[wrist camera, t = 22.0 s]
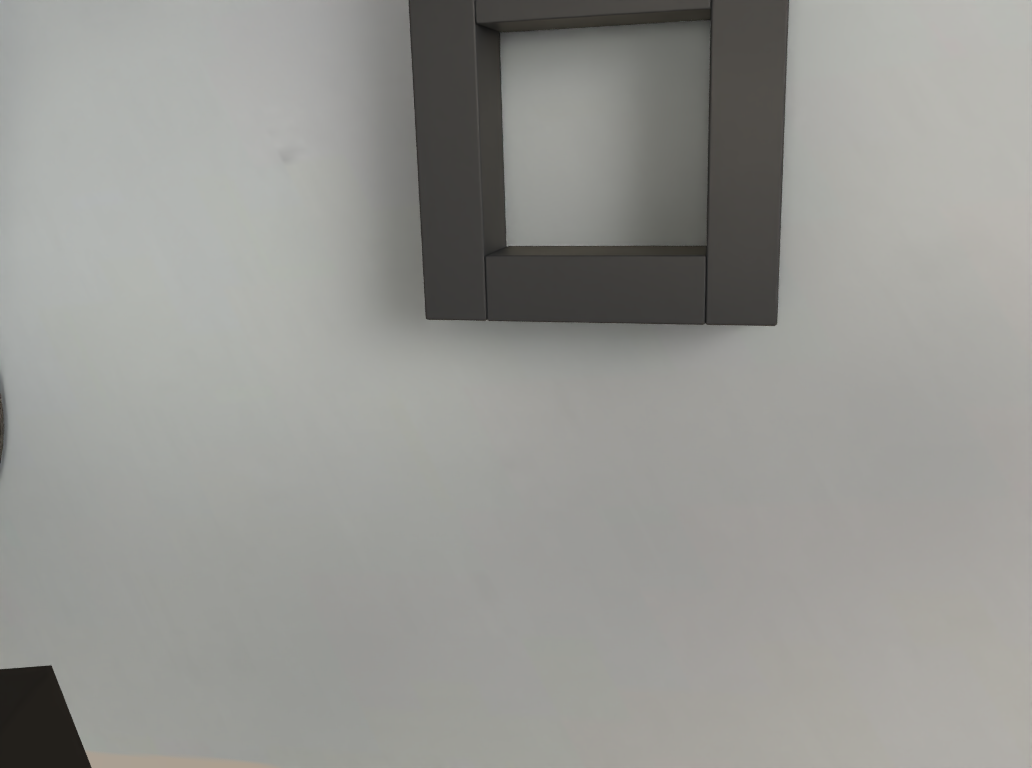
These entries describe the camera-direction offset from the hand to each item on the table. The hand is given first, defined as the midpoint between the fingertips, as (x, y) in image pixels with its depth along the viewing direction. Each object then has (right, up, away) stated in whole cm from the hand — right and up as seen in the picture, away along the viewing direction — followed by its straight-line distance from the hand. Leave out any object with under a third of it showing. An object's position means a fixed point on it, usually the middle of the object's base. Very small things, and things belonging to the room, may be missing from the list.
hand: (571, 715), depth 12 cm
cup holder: (+2, +12, +21) cm, 24 cm away
